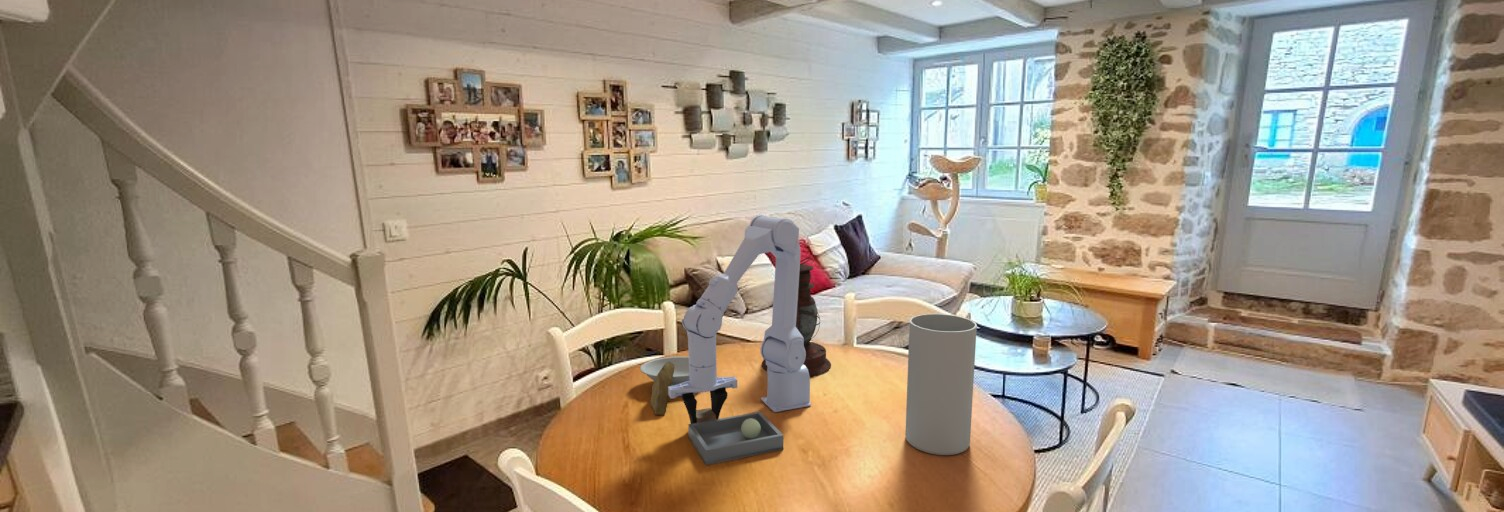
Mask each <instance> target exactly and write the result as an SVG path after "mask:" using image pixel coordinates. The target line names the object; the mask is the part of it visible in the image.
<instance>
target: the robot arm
mask: <svg viewBox="0 0 1504 512" xmlns="http://www.w3.org/2000/svg"><path fill="white" fill-rule="evenodd" d="M799 232H800V228H799V226H797V224H796V223H794V221H793V220H792V219H789V218H786V217H785V218H784V217H783V218H780V217H774V216H773V217H772V216H767V215H764V214H761V215H756V216H755V217H753V218H752V219H751V221H750V223H749V225H748V226H747V227H746V228H745V229H744V238H743V240H742V242H740V245H739V247H738V249H736V252H735V253H734V255H733V257H732V259H731V260H730V261H729V264H728V265H727V267H726V268H725V271H724V272H723V273H722V274H718V275H715V276H714V277H713V278H711V279H710V280H709V281H708V284H709V285H708V286H707V288H706V289H705V291H704V292H703V293H702V295H701V296H700V298H699V299H697V301H696V302H695V303H696V304H693V305H692V306H690V307H689V308H687V309H686V311H685V313H684V315H683V319H681V325H682V326H683V328H684V329H685V331H686V333H687V335H686V336H687V337H686V338H688V339H687V340H688V341H687V343H688V344H687V345H688V346H687V347H688V357H689V381H687V382H684V383H681V384H677V385H674V386H673V385H671V386H669V387H668V395H669V399H676V398H677V397H680V398H681V400H682V402H683V404H684V406H685V408H686V411H687V414H688V416H689V421H690V422H689V424H693V423H697V420H696V410H697V406H698V405H697V404H698V399H696V397H695V396H696V395H695V394H700V393H708V392H709V394H710V404H711V407H710V408H711V410H712V411H713V412H714V413H715V415H716V419H720V418H719V417H720V414H721V411H722V408H723V406H724V404H725V402H726V400H727V399H728V392H727V389H737V388H738V379H737V377H735V376H722V377H719V376H717V375H718V373H717V369H718V367H717V333H718V332H719V331H720V330H721V328H722V325H723V317H724V313H725V311H726V310H727V309H728V307H729V305H730V304H731V302H732V301H733V300H734V298H735V296H736V295H737V293H738V292H739V289H738V282H739V281H740V280H741V278H742V277H743V276H744V275H745V273H746V272H747V271H748V269H749V268H750V267H751V266H752V264H753V263H754V262H755V260H757V258H758V257H759V255H763V254H767V253H771V254H772V255H773V257H774V258H775V267H774V284H773V285H774V286H773V298H772V299H773V300H772V302H773V304H772V316H771V325H770V326H769V327H768V328H767V329H765V330H764V338H763V340H762V342H761V345H760V354H761V358H762V359H763V360H764V359H765V360H766V365H767V371H766V372H767V373H766V375H767V380H766V381H767V383H766V384H767V396H763V397H761V398H760V399H761V401H762V402H763V403H764V404H765V406H767V407H768V408H769V409H770V410H772V412H773V413H777V412H779V413H780V412H784V411H790V410H795V409H796V410H797V409H801V408H805V407H811V406H812V403H811V397H810V396H811V377H810V376H809V372H808V369H807V367H806V366H805V365H804V364H803V363H804V361H805V358H806V351H805V348H804V338H803V336H802V335H801V333H800V332H799V331H798V329H797V328H796V317H797V302H798V287H799V272H800V264H801V262H800V261H801V256H802V254H801V252H802V251H801V245H800V242H799V236H800V233H799Z"/></svg>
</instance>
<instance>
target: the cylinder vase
mask: <svg viewBox="0 0 1504 512" xmlns="http://www.w3.org/2000/svg"><path fill="white" fill-rule="evenodd" d="M977 328H978V327H977V323H976V322H975V321H973V320H972V319H970V318H967V317H963V316H960V315H959V316H958V315H956V314H955V315H953V314H944V313H924V314H919V315H915V316H912V317H910V319H909V328H908V353H907V354H908V356H907V359H908V360H907V378H906V379H907V382H906V408H905V431H904V432H905V439H906V441H907V442H908V443H909V445H911V446H912V448H915V449H917V450H919V451H921V452H924V453H926V454H927V453H928V454H931V455H936V456H953V455H958V454H961V453H963V452H965V451H966V450H968V448H969V447H970V445H971V435H972V434H971V433H972V432H971V429H972V416H973V415H972V413H973V396H974V381H975V379H974V378H975V363H976V361H975V360H976V344H977V343H976V342H977Z"/></svg>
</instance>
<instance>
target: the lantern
mask: <svg viewBox="0 0 1504 512" xmlns="http://www.w3.org/2000/svg"><path fill="white" fill-rule="evenodd" d="M811 259H812V257H811V256H810V257H806V258H804V259H802V260H800V272H799V287H798V302H797V317H796V328H797V329H798V331H799V332H800V333H801V335H802V336H803V338H804V348H805V351H806V358H805V361H804V363H803V364H804V365H805V366H806V367H807V369H808V372H809V376H810V378H813V377H817V376H821V375H824V374H826V373H828V372H829V371H830V370H831V369H832V363H831V361H830V360H829V359H828V358H827V349H826V348H825V347H824V346H823V345H821V344H819V343H817V342H814V341H812V339H813V338H814V337H815V336H817V334H818V332H819V329H820V325H821V318H820V314H819V312H818V307H817V304H816V301H815V299H814V297H813V296H812V295H811V289H813V288H814V287H815V284H813V283H812V282H810V281H811V280H812V275H811V271H812V270H814V266H812V265H809V264H806V263H807V262H809V261H811ZM818 319H819V322H818ZM817 326H818V329H817V331H816V328H817ZM815 331H816V333H815ZM814 334H815V335H814ZM762 367H763V368H762ZM761 368H762V369H763V370H764V371H765V372H767V365H766V360H765V359H764V358H763V360H762V362H761ZM829 369H830V370H829ZM828 370H829V371H828ZM827 371H828V372H827Z"/></svg>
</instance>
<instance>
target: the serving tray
mask: <svg viewBox="0 0 1504 512" xmlns="http://www.w3.org/2000/svg"><path fill="white" fill-rule="evenodd" d="M749 418H753V419H755V420H757V421H758V422H759V424H760V426H761V431H760V433H759V435H758V436H757V437H756V438H753V439H749V438H746V437H745V436H744V435H743V434H742V431H741V426H742V423H743V422H744V421H745V420H746V419H749ZM687 425H688V427H687V428H688V439H689V441H690V442H691V444H692V446H693V447H694V448H695V450H696V451H697V453H698V455H699V457H700V458H701V459H702V461H703V463H704V464H705V466H711V465H715V464H719V463H723V462H729V461H734V460H738V459H743V458H749V457H754V456H757V455H758V456H759V455H763V454H768V453H772V452H778V451H783V450H784V434H783V433H782V432H781V431H780V430H779V429H778V428H777V427H776V426H775V425H774V424H773V422H771V421H770V420H769V419H768V418H767V417H766V416H765V415H764V413H763V412H761V411H755V412H750V413H744V414H738V415H732V416H727V417H722V418H719V419H715V420H709V421H704V422H698V423H693V424H691V423H688V424H687Z"/></svg>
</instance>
